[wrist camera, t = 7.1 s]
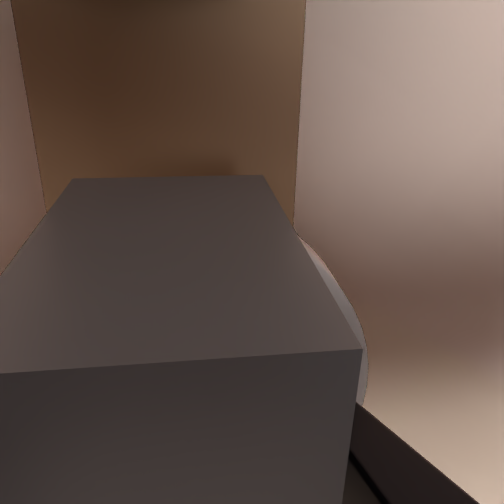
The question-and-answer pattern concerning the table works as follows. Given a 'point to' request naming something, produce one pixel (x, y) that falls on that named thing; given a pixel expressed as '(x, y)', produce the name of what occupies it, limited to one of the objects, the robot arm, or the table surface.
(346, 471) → the robot arm
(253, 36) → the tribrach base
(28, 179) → the table surface
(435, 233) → the table surface
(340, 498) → the knob
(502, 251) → the table surface
